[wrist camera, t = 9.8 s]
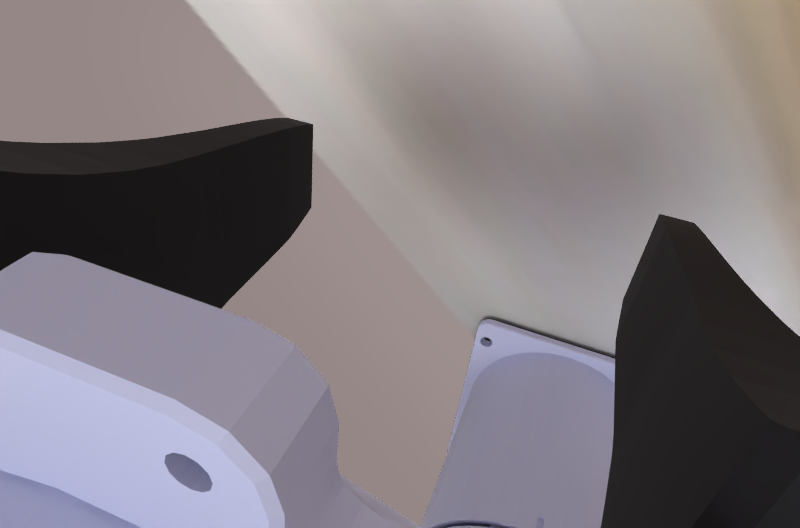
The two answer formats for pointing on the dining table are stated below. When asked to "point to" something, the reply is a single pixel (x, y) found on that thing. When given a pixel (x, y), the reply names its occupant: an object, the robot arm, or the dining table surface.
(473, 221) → the dining table surface
